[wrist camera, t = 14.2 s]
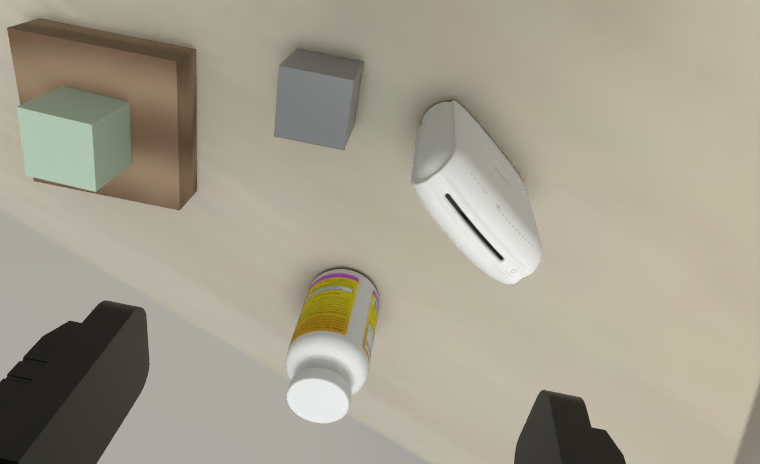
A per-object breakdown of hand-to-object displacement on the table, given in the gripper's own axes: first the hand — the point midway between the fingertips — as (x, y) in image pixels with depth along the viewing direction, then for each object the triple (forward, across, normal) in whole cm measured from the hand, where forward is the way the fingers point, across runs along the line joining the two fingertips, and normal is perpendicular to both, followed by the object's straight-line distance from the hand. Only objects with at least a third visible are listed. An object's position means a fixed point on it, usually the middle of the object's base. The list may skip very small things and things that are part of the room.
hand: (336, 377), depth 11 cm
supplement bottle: (+33, +2, +24) cm, 41 cm away
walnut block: (+34, +22, +10) cm, 41 cm away
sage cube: (+30, +22, +10) cm, 38 cm away
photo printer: (+33, -6, +8) cm, 35 cm away
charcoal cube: (+33, +6, +5) cm, 34 cm away
